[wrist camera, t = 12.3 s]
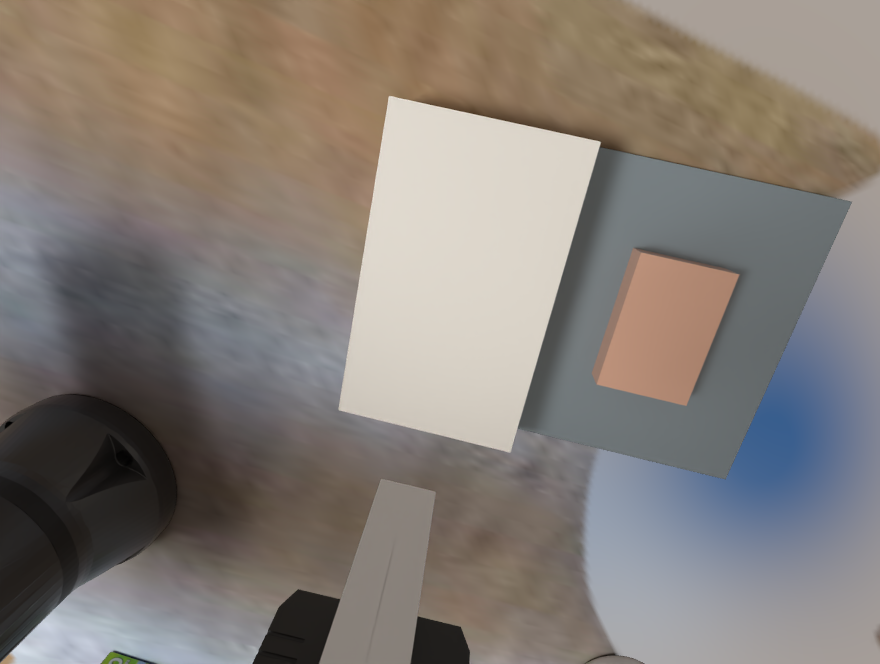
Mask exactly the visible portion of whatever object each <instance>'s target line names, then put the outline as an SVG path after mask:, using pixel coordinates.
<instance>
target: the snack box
mask: <svg viewBox="0 0 880 664" xmlns="http://www.w3.org/2000/svg"><path fill="white" fill-rule="evenodd" d="M101 664H149V663H146V662H142V661H139V660H136V659H133V658H130V657H127V656H123V655H120V654H117V653H114V652H110V653H109V654H108V656H107V657H106V658H105V659H104V660H103V662H102V663H101Z"/></svg>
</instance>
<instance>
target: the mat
mask: <svg viewBox="0 0 880 664" xmlns="http://www.w3.org/2000/svg"><path fill="white" fill-rule="evenodd" d="M851 203H852V202H850V201H846V200H841V199H837V198H832V197H827V196H823V195H818V194H814V193H809V192H804V191H800V190H795V189H790V188H786V187H781V186H777V185H772V184H767V183H763V182H758V181H754V180H749V179H744V178H740V177H735V176H731V175H726V174H721V173H717V172H712V171H707V170H703V169H698V168H694V167H689V166H684V165H680V164H675V163H671V162H666V161H661V160H657V159H652V158H648V157H643V156H638V155H634V154H629V153H624V152H620V151H615V150H611V149H606V148H601V147H599V150H598V154H597V157H596V160H595V164H594V167H593V171H592V174H591V178H590V181H589V184H588V188H587V191H586V195H585V198H584V202H583V205H582V208H581V212H580V215H579V219H578V222H577V226H576V229H575V232H574V236H573V239H572V243H571V246H570V250H569V253H568V257H567V260H566V263H565V267H564V270H563V274H562V277H561V281H560V284H559V287H558V291H557V294H556V298H555V301H554V305H553V308H552V311H551V315H550V318H549V322H548V325H547V329H546V332H545V335H544V339H543V342H542V346H541V349H540V353H539V356H538V359H537V363H536V366H535V370H534V373H533V377H532V380H531V383H530V387H529V390H528V394H527V397H526V401H525V404H524V408H523V411H522V414H521V418H520V421H519V425H518V428H517V429H522V430H526V431H530V432H534V433H538V434H542V435H546V436H550V437H554V438H558V439H562V440H567V441H571V442H575V443H579V444H583V445H587V446H591V447H595V448H599V449H603V450H607V451H612V452H616V453H620V454H624V455H628V456H632V457H636V458H640V459H644V460H648V461H652V462H656V463H661V464H665V465H669V466H673V467H677V468H681V469H685V470H689V471H693V472H697V473H701V474H706V475H710V476H714V477H718V478H722V479H726V477H727V475H728V472H729V470H730V468H731V466H732V464H733V462H734V459H735V457H736V455H737V453H738V451H739V448H740V446H741V444H742V442H743V440H744V437H745V435H746V433H747V431H748V429H749V426H750V424H751V422H752V420H753V418H754V416H755V413H756V411H757V409H758V407H759V405H760V402H761V400H762V398H763V396H764V394H765V391H766V389H767V387H768V385H769V382H770V380H771V378H772V376H773V374H774V372H775V370H776V367H777V365H778V363H779V361H780V359H781V356H782V354H783V352H784V349H785V348H786V345H787V343H788V341H789V339H790V337H791V334H792V332H793V330H794V328H795V326H796V323H797V321H798V319H799V317H800V315H801V313H802V310H803V308H804V306H805V304H806V302H807V299H808V297H809V295H810V293H811V291H812V288H813V286H814V284H815V282H816V280H817V277H818V275H819V273H820V271H821V269H822V266H823V264H824V262H825V260H826V258H827V256H828V253H829V251H830V249H831V247H832V245H833V242H834V240H835V238H836V236H837V234H838V231H839V229H840V227H841V225H842V222H843V220H844V218H845V216H846V214H847V212H848V209H849V207H850V205H851ZM633 248H636V249H641V250H645V251H650V252H654V253H659V254H663V255H668V256H672V257H676V258H681V259H685V260H690V261H694V262H699V263H703V264H707V265H712V266H716V267H721V268H725V269H728V270H730V271H732V272H735V273H737V274H739V277H738V280H737V282H736V285H735V287H734V289H733V292H732V294H731V297H730V299H729V302H728V304H727V307H726V309H725V312H724V314H723V317H722V319H721V322H720V324H719V327H718V329H717V331H716V334H715V336H714V339H713V341H712V344H711V346H710V349H709V351H708V354H707V356H706V359H705V361H704V364H703V366H702V368H701V371H700V373H699V376H698V378H697V381H696V383H695V386H694V388H693V391H692V393H691V396H690V398H689V401H688V403H687V406H685V405H680V404H676V403H672V402H668V401H664V400H659V399H655V398H651V397H647V396H643V395H638V394H634V393H630V392H626V391H622V390H618V389H613V388H609V387H605V386H601V385H597V384H596V382H595V380H594V378H593V375H592V371H593V368H594V365H595V362H596V359H597V356H598V352H599V349H600V346H601V343H602V340H603V337H604V334H605V331H606V328H607V325H608V322H609V319H610V316H611V313H612V310H613V307H614V304H615V301H616V298H617V295H618V292H619V289H620V286H621V283H622V280H623V277H624V274H625V271H626V268H627V265H628V262H629V259H630V256H631V253H632V250H633Z"/></svg>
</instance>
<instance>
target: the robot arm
mask: <svg viewBox="0 0 880 664" xmlns="http://www.w3.org/2000/svg"><path fill="white" fill-rule="evenodd" d="M435 495H436V492H435V491H431V490H427V489H423V488H419V487H414V486H410V485H406V484H402V483H398V482H393V481H389V480H385V479H381V480H380V483H379V486H378V489H377V492H376V495H375V498H374V501H373V504H372V507H371V510H370V513H369V516H368V519H367V522H366V525H365V528H364V531H363V534H362V537H361V540H360V543H359V546H358V549H357V552H356V555H355V558H354V561H353V564H352V567H351V570H350V573H349V576H348V579H347V582H346V585H345V588H344V591H343V594H342V597H341V600H340V599H336V598H332V597H328V596H323V595H319V594H315V593H311V592H307V591H303V590H299V589H298V590H297V591H296V592H295V593H294V594H292V595H291V596H290V597H289V598H288V599H287V600H286V601H285V602H284V603H283V604H282V605H281V606H280V607H279V608H278V610H277V613H276V615H275V617H274V619H273V621H272V623H271V625H270V627H269V630H268V633H267V635H266V636H265V638H264V640H263V642H262V645H261V647H260V649H259V652H258V654H257V655H256V657H255V659H254V662H253V664H469V657H470V651H469V648H468V645H467V643H466V640H465V637H464V635H463V632H462V629H461V627H459V626H455V625H450V624H446V623H442V622H438V621H434V620H430V619H426V618H421V617H417V616H418V609H419V603H420V596H421V589H422V582H423V576H424V569H425V562H426V555H427V549H428V542H429V535H430V528H431V522H432V515H433V508H434V501H435ZM176 497H177V491H176V482H175V477H174V473H173V470H172V467H171V465H170V462H169V460H168V458H167V456H166V454H165V452H164V451H163V449H162V448H161V446H160V445H159V443H158V442H157V441H156V439H155V438H154V437H153V436H152V434H151V433H150V432H149V431H148V430H147V429H146V428H145V427H144V426H143V425H142V424H141V423H139V422H138V421H137V420H136V419H134V418H133V417H132V416H130V415H129V414H127V413H126V412H124V411H123V410H121V409H119V408H117V407H115V406H113V405H111V404H109V403H107V402H104V401H101V400H99V399H95V398H91V397H87V396H81V395H60V396H54V397H50V398H47V399H44V400H42V401H40V402H38V403H36V404H34V405H32V406H30V407H28V408H26V409H24V410H22V411H20V412H18V413H16V414H14V415H13V416H12V417H10V418H9V419H8V420H6V421H5V422H4V423H3V424H2V425H1V426H0V663H1V661H3V659H5V657H7V656H8V655H9V654H10V653H11V652H12V651H13V650H14V649H15V648H16V647H17V646H18V645H19V644H20V643H21V642H22V641H23V640H24V639H25V638H26V637H27V636H28V635H29V634H30V633H31V632H32V631H33V630H34V629H35V628H36V627H37V626H38V625H39V624H40V623H41V622H42V621H43V620H44V619H45V618H46V617H47V616H48V615H49V614H50V613H51V612H52V610H53V609H54V608H56V607H57V606H58V605H59V604H60V603H61V602H62V601H63V600H64V599H65V598H66V597H67V596H68V595H69V594H70V593H71V592H72V591H73V590H74V589H76V588H78V587H79V586H81V585H83V584H85V583H86V582H88V581H90V580H92V579H93V578H95V577H97V576H99V575H100V574H102V573H104V572H105V571H107V570H109V569H110V568H112V567H114V566H115V565H118V564H121V563H123V562H125V561H127V560H129V559H131V558H133V557H135V556H137V555H138V554H140V553H141V552H142V551H143V550H145V549H146V548H147V547H148V546H149V545H150V544H151V543H152V542H153V541H154V540H155V539H156V537H157V536H158V535H159V534H160V533H161V532H162V531H163V530H164V529H165V528H166V526H167V525H168V523H169V522H170V520H171V518H172V515H173V513H174V510H175V505H176Z"/></svg>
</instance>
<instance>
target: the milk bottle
mask: <svg viewBox="0 0 880 664" xmlns="http://www.w3.org/2000/svg"><path fill="white" fill-rule="evenodd" d="M586 664H644V663H643V662H640V661H638V660H636V659H633V658H629V657H625V656H605V657H600V658H597V659H594V660H592V661H590V662H588V663H586Z"/></svg>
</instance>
